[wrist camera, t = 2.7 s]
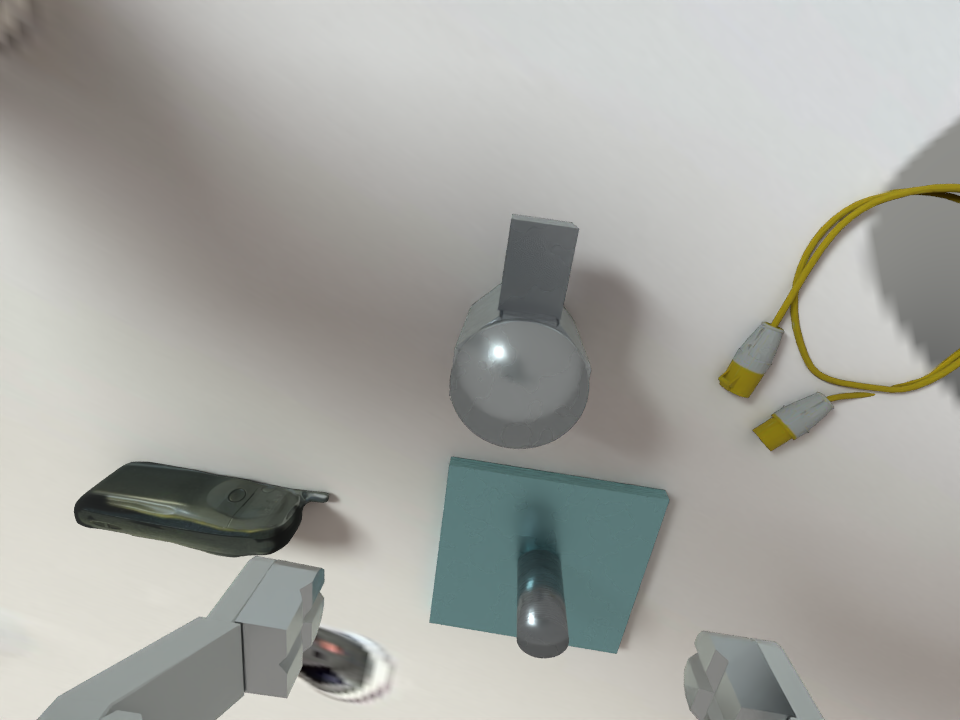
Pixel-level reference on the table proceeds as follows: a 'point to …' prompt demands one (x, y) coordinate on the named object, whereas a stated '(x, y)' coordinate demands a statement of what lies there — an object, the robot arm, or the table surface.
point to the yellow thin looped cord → (767, 337)
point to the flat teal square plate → (542, 555)
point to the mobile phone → (195, 509)
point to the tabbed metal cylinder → (523, 344)
